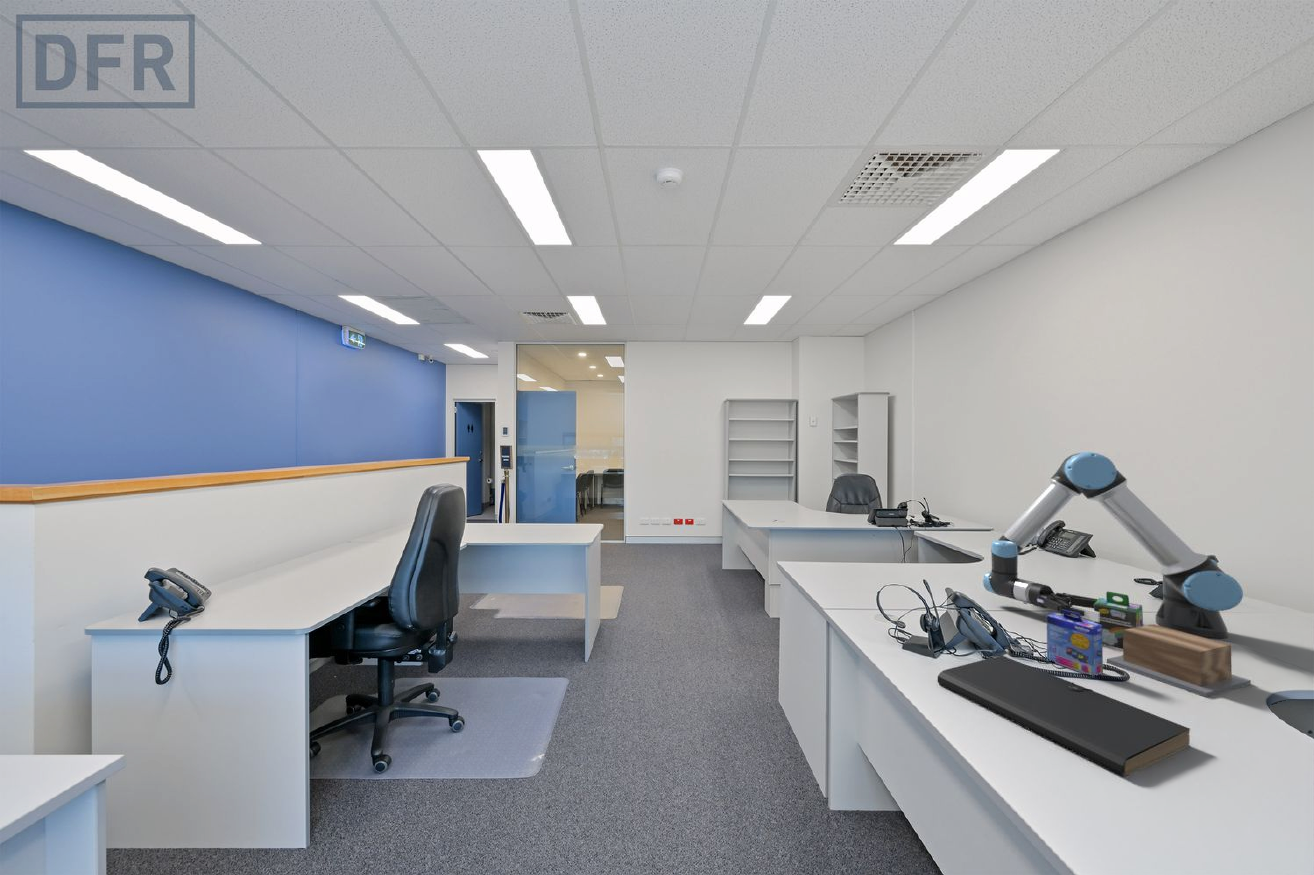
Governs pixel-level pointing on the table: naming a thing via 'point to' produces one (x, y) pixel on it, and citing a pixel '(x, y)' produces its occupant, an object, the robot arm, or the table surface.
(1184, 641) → the walnut base brick
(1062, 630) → the ink cartridge box
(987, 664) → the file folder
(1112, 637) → the chalk box
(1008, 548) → the robot arm
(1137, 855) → the table surface
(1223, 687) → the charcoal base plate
